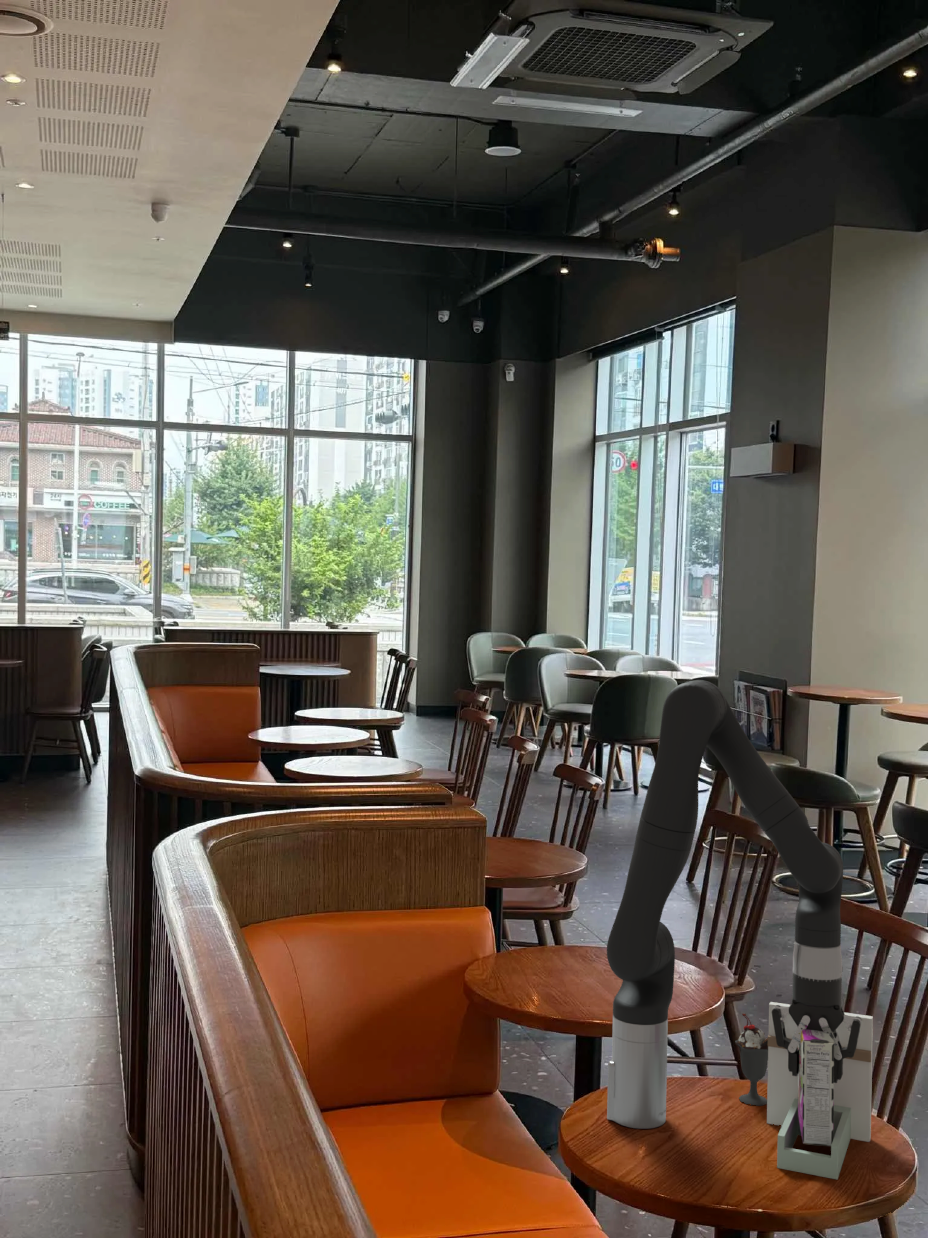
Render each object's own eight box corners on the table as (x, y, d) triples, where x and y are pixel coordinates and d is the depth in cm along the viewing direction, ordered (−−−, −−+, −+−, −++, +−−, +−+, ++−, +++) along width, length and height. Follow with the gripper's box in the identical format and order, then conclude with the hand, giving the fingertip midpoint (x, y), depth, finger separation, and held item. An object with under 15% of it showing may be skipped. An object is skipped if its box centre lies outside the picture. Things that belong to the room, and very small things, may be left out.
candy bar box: (795, 1116, 199) (797, 1016, 199) (827, 1119, 198) (829, 1018, 198) (800, 1145, 188) (802, 1038, 188) (834, 1148, 187) (836, 1041, 187)
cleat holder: (747, 1162, 190) (750, 1033, 190) (768, 1120, 206) (770, 1002, 206) (858, 1184, 183) (860, 1050, 183) (870, 1139, 200) (872, 1016, 200)
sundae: (728, 1093, 218) (730, 1009, 218) (765, 1093, 218) (767, 1009, 218) (739, 1108, 211) (741, 1021, 211) (777, 1108, 212) (779, 1021, 212)
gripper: (766, 971, 193) (765, 1078, 193) (861, 983, 187) (860, 1094, 187) (775, 959, 200) (773, 1063, 200) (867, 971, 194) (865, 1078, 194)
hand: (815, 1077), depth 193 cm, fingers closed on candy bar box, 5 cm apart
